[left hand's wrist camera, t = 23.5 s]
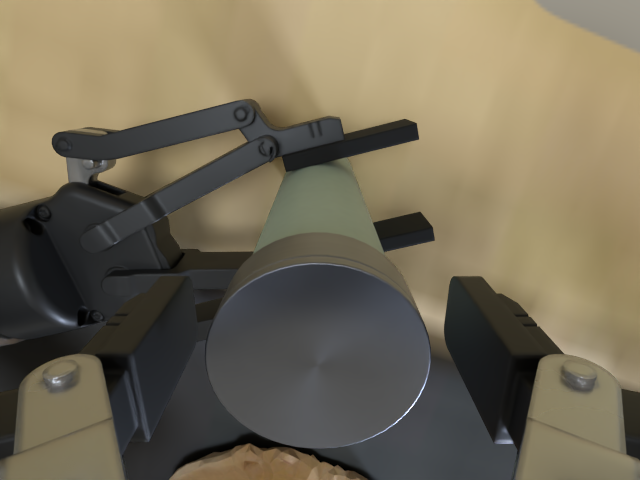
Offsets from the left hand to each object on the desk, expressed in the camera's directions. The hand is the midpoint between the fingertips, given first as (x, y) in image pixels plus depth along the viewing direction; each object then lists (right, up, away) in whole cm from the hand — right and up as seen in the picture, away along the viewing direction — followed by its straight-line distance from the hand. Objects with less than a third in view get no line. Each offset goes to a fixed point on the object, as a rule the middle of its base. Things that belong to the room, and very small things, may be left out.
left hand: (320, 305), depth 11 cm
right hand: (+5, +5, +10) cm, 12 cm away
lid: (0, -1, -2) cm, 2 cm away
